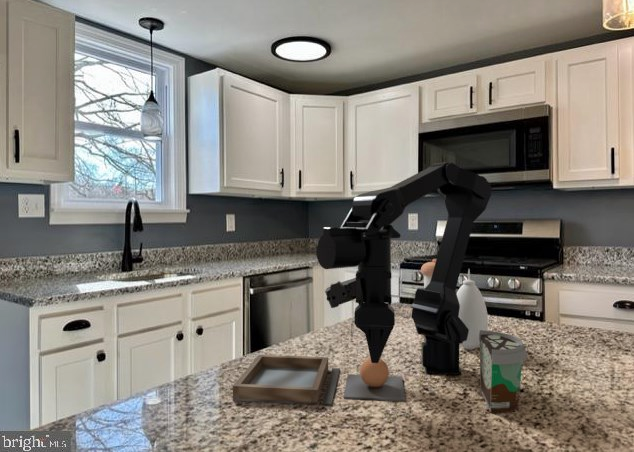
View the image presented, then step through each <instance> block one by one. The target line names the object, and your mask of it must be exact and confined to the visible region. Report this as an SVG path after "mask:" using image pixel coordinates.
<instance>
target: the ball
mask: <svg viewBox="0 0 634 452" xmlns="http://www.w3.org/2000/svg"><path fill="white" fill-rule="evenodd" d="M389 371H390V370H389V366H388V365H387V363H386V362H385V360H384V359H382V358H380V360H379V362H378V363H372V362H371V358H370V357H368V358H366V359H365V360H364V361H363V362H362V364H361V365H360V369H359V375H361V378H362V380H363V381H364V383H366V384H367V385H368V386H371V387H379V386H382V385H383V384H384V383H385V382H386V381H387V379H388V376H390V372H389Z"/></svg>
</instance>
